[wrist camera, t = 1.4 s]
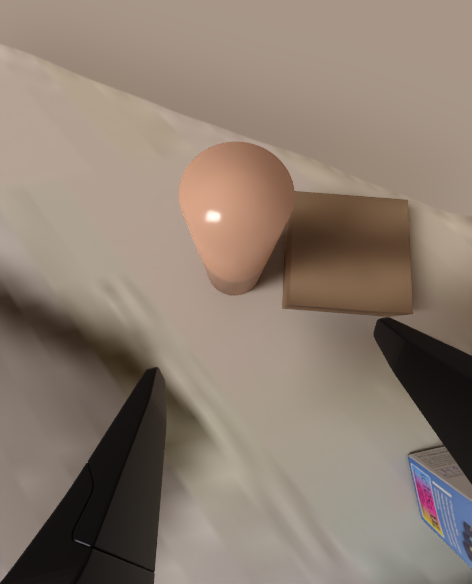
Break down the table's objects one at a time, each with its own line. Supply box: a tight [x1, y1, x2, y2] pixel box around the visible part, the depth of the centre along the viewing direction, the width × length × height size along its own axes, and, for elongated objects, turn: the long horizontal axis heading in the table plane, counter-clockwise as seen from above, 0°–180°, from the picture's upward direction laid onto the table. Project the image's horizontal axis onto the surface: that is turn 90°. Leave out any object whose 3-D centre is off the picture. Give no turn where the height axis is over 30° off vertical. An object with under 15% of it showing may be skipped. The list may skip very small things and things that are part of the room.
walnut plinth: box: [282, 191, 413, 316], centre depth 22 cm, size 10×10×3 cm
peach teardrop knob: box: [179, 142, 295, 295], centre depth 17 cm, size 5×5×13 cm
